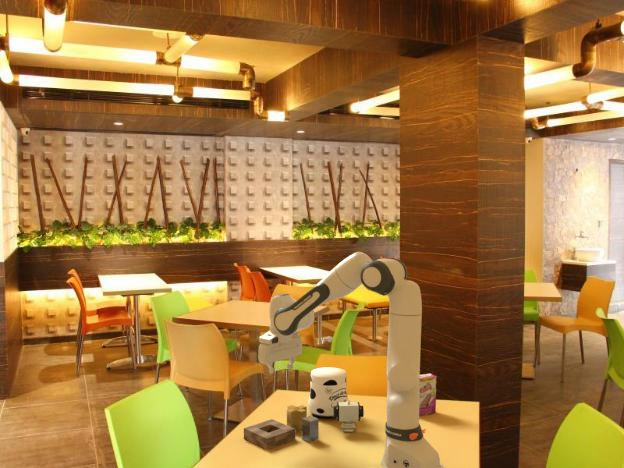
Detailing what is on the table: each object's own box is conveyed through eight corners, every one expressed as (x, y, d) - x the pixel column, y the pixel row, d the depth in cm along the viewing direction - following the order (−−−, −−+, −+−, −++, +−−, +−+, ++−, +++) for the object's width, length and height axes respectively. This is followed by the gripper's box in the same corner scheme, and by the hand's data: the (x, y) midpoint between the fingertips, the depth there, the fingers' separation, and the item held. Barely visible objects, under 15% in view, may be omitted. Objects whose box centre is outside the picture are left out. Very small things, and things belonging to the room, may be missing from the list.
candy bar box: (414, 417, 253) (415, 379, 252) (408, 413, 257) (408, 375, 256) (436, 413, 257) (437, 375, 256) (429, 409, 262) (430, 372, 261)
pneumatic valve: (363, 432, 236) (363, 402, 235) (333, 433, 235) (333, 403, 235) (362, 427, 241) (362, 398, 241) (333, 427, 241) (333, 398, 240)
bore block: (295, 438, 230) (295, 428, 229) (267, 449, 220) (267, 438, 220) (271, 428, 240) (271, 419, 239) (243, 438, 230) (243, 428, 230)
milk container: (346, 421, 247) (346, 378, 247) (304, 419, 251) (304, 376, 250) (350, 407, 264) (350, 367, 264) (312, 405, 268) (312, 365, 267)
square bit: (318, 439, 229) (318, 418, 229) (309, 442, 226) (309, 421, 226) (310, 435, 233) (310, 415, 232) (301, 439, 230) (301, 418, 229)
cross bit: (311, 428, 241) (311, 408, 240) (296, 433, 235) (296, 413, 234) (297, 422, 247) (297, 403, 246) (281, 427, 241) (281, 408, 241)
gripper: (295, 330, 242) (295, 364, 242) (255, 338, 227) (255, 374, 228) (305, 332, 237) (306, 367, 238) (266, 341, 223) (266, 377, 224)
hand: (281, 370), depth 233 cm, fingers open, 8 cm apart
